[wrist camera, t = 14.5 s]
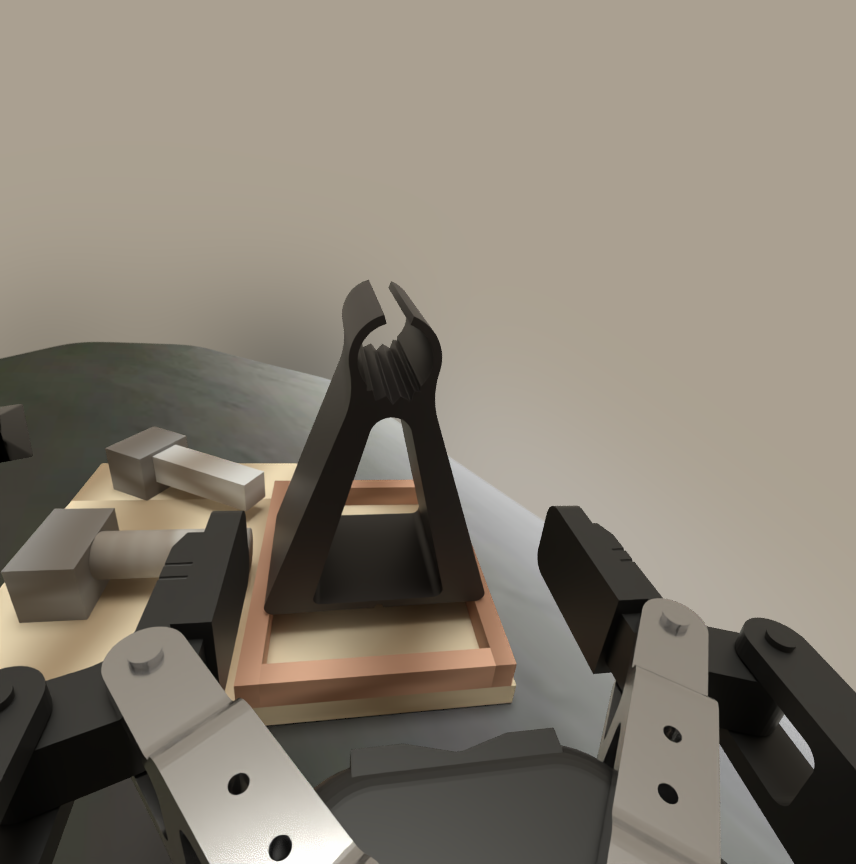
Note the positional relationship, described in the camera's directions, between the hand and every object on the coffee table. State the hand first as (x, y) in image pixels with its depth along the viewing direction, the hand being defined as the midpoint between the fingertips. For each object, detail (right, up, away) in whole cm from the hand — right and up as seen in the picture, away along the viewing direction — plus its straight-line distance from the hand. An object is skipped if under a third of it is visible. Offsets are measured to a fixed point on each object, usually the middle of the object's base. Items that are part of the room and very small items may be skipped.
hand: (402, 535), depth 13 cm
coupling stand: (-8, -4, +12) cm, 15 cm away
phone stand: (-2, -3, +10) cm, 11 cm away
